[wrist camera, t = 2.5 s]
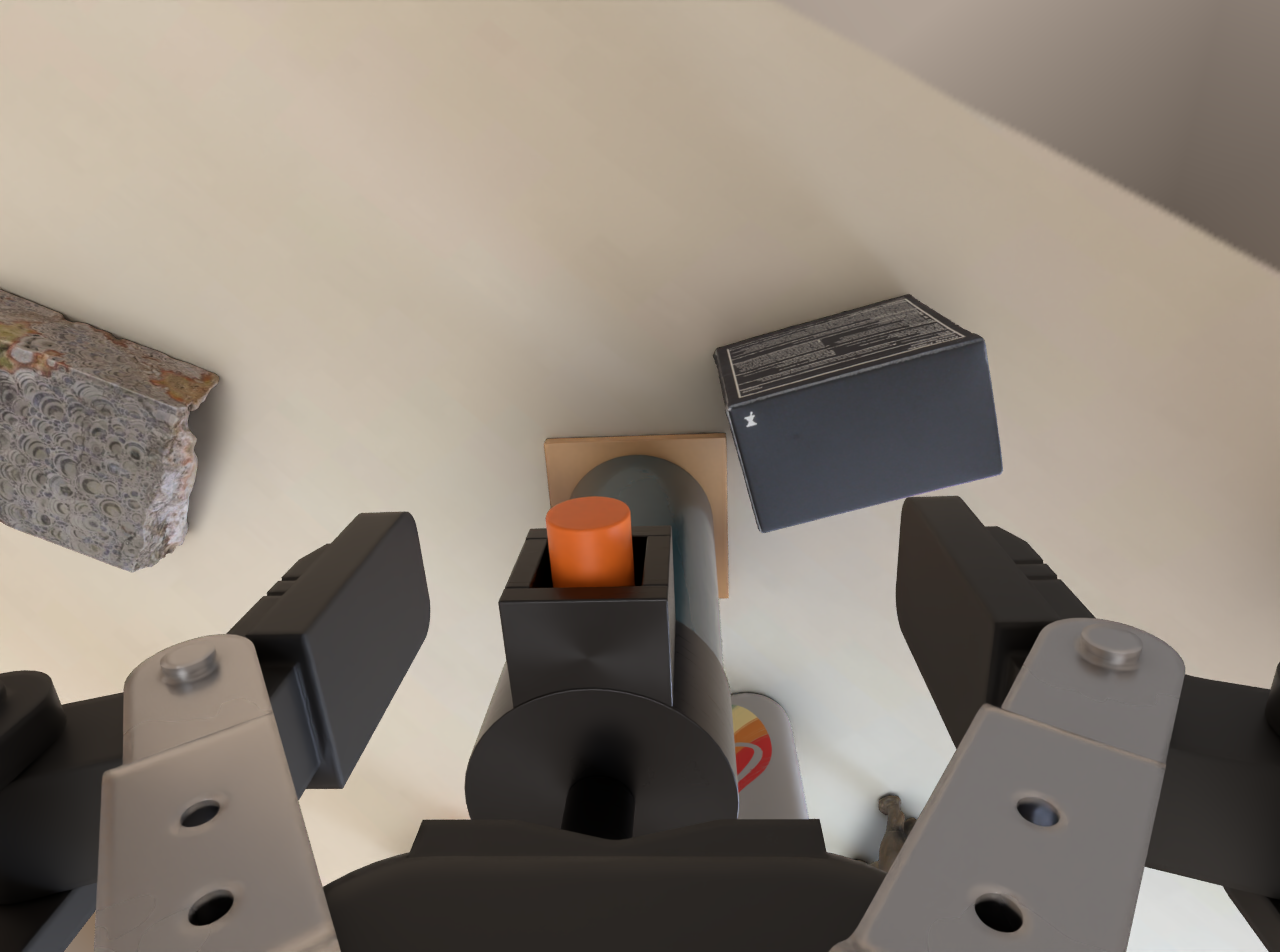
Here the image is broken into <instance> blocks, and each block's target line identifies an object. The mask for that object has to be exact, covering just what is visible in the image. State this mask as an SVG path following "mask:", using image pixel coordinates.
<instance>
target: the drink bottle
mask: <svg viewBox="0 0 1280 952" xmlns="http://www.w3.org/2000/svg"><path fill="white" fill-rule="evenodd" d="M592 496H598V497H609V498H614V499H617V500H620V501H622V502H624V503H625V504H626V505H627V506H628V507H629V509H630V515H631V530H632V546H633V562H634V577H635V586H618V587H564V588H553V583H552V573H551V564H550V555H549V546H548V536H547V528H544V529H530V530H529V533H528V535H527V537H526V541H525V543H524V545H523V547H522V550H521V552H520V554H519V557H518V559H517V561H516V564H515V566H514V568H513V570H512V573H511V575H510V577H509V580H508V582H507V584H506V586H505V589H504V590H503V593H502V595H501V597H500V600H499V602H498V603H499V610H500V618H501V625H502V632H503V639H504V647H505V654H506V662H505V665H504V667H503V670H502V672H501V675H500V678H499V680H498V683H497V686H496V689H495V691H494V694H493V697H492V699H491V702H490V705H489V708H488V710H487V713H486V716H485V718H484V721H483V724H482V726H481V729H480V732H479V735H478V737H477V740H476V743H475V745H474V748H473V751H472V754H471V756H470V759H469V762H468V766H467V770H466V776H465V797H466V804H467V808H468V812H469V816H470V818H471V820H521V821H526V822H530V823H535V824H539V825H544V826H548V827H553V828H558V829H562V830H567V831H571V832H576V833H580V834H585V835H589V836H594V837H598V838H603V839H608V840H623V839H629V838H633V837H638V836H643V835H648V834H652V833H657V832H662V831H667V830H671V829H676V828H681V827H685V826H690V825H695V824H700V823H704V822H709V821H714V820H719V819H738V812H739V792H738V779H737V767H736V755H735V742H734V730H733V717H732V705H731V694H730V688H729V684H728V680H727V677H726V674H725V672H724V667H723V653H722V639H721V624H720V610H719V596H718V582H717V567H716V553H715V539H714V525H713V513H712V509H711V505H710V503H709V500H708V498H707V495H706V494H705V492H704V490H703V488H702V487H701V486H700V484H699V483H698V482H697V481H696V480H695V479H694V478H693V477H692V476H691V475H690V474H689V473H688V472H687V471H685V470H684V469H683V468H681V467H679V466H678V465H676V464H674V463H672V462H670V461H667V460H665V459H662V458H658V457H654V456H648V455H627V456H621V457H617V458H613V459H611V460H608V461H605V462H603V463H601V464H600V465H598V466H596V467H595V468H593V469H592V470H590V471H589V472H588V473H587V474H586V475H585V476H584V477H583V478H582V479H581V480H580V481H579V483H578V484H577V485H576V487H575V489H574V490H573V492H572V494H571V496H570V499H569V500H571V499H575V498H581V497H592Z"/></svg>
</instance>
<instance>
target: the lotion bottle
mask: <svg viewBox="0 0 1280 952" xmlns="http://www.w3.org/2000/svg"><path fill="white" fill-rule="evenodd" d="M731 705H732V717H733V730H734V742H735V755H736V767H737V779H738V792H739V812H738V819H809V816H808V810H807V805H806V800H805V794H804V789H803V783H802V778H801V772H800V767H799V761H798V756H797V751H796V745H795V740H794V735H793V731H792V726H791V723H790V720H789V718H788V716H787V714H786V712H785V711H784V709H783V708H782V707H781V706H780V705H779V704H778V703H777V702H775V701H774V700H772V699H770V698H768V697H766V696H763V695H759V694H754V693H741V694H735V695H731Z"/></svg>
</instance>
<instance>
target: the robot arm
mask: <svg viewBox="0 0 1280 952" xmlns="http://www.w3.org/2000/svg"><path fill="white" fill-rule="evenodd" d="M896 608H897V616H898V621H899V625H900V628H901V631H902V633H903V636H904V638H905V640H906V642H907V644H908V646H909V648H910V651H911V653H912V655H913V657H914V659H915V661H916V663H917V666H918V668H919V670H920V672H921V674H922V676H923V678H924V681H925V683H926V685H927V687H928V689H929V691H930V694H931V696H932V698H933V700H934V702H935V704H936V706H937V709H938V711H939V713H940V715H941V717H942V719H943V721H944V724H945V726H946V728H947V730H948V732H949V734H950V736H951V739H952V741H953V743H954V745H955V747H956V749H957V750H956V752H955V753H954V755H953V757H952V759H951V761H950V762H949V764H948V766H947V768H946V769H945V771H944V773H943V775H942V777H941V778H940V780H939V782H938V784H937V786H936V787H935V789H934V791H933V793H932V795H931V796H930V798H929V800H928V802H927V803H926V805H925V807H924V809H923V811H922V812H921V814H920V816H919V818H918V820H917V821H916V823H915V825H914V827H913V829H912V830H911V832H910V834H909V836H908V837H907V839H906V841H905V843H904V845H903V846H902V848H901V850H900V852H899V854H898V855H897V857H896V859H895V861H894V863H893V864H892V866H891V868H890V870H889V871H888V873H887V872H884V871H882V870H880V869H877V868H875V867H873V866H871V865H868V864H866V863H863V862H860V861H857V860H854V859H851V858H847V857H844V856H841V855H837V854H832V853H828V852H826V848H825V843H824V838H823V833H822V829H821V824H820V819H719V820H714V821H709V822H704V823H700V824H695V825H690V826H685V827H681V828H676V829H671V830H667V831H662V832H657V833H652V834H648V835H643V836H638V837H633V838H629V839H623V840H608V839H603V838H598V837H594V836H589V835H585V834H580V833H576V832H571V831H567V830H562V829H558V828H553V827H548V826H544V825H539V824H535V823H530V822H526V821H521V820H423V821H422V823H421V826H420V828H419V831H418V833H417V836H416V838H415V841H414V843H413V846H412V848H411V851H410V852H409V853H405V854H401V855H397V856H394V857H390V858H387V859H384V860H381V861H378V862H374V863H372V864H370V865H367V866H365V867H362V868H360V869H357V870H355V871H353V872H350V873H348V874H347V875H345V876H343V877H341V878H339V879H337V880H335V881H333V882H331V883H329V884H327V885H326V886H324V887H322V883H321V880H320V876H319V873H318V869H317V866H316V862H315V859H314V855H313V851H312V848H311V844H310V841H309V837H308V834H307V830H306V827H305V823H304V820H303V816H302V812H301V809H300V805H299V802H298V800H299V799H300V797H301V796H302V794H303V792H304V791H305V789H343V787H344V785H345V784H346V782H347V780H348V778H349V776H350V775H351V773H352V771H353V769H354V767H355V765H356V764H357V762H358V760H359V758H360V756H361V755H362V753H363V751H364V749H365V747H366V745H367V744H368V742H369V740H370V738H371V736H372V735H373V733H374V731H375V729H376V727H377V725H378V724H379V722H380V720H381V718H382V716H383V715H384V713H385V711H386V709H387V707H388V705H389V704H390V702H391V700H392V698H393V696H394V695H395V693H396V691H397V689H398V687H399V685H400V684H401V682H402V680H403V678H404V676H405V675H406V673H407V671H408V669H409V667H410V665H411V664H412V662H413V660H414V658H415V656H416V655H417V653H418V651H419V649H420V647H421V645H422V644H423V642H424V640H425V638H426V635H427V632H428V628H429V622H430V600H429V594H428V588H427V582H426V577H425V571H424V566H423V560H422V554H421V549H420V543H419V537H418V532H417V527H416V523H415V520H414V518H413V516H412V515H411V514H410V513H409V512H380V513H361V514H359V515H357V516H356V517H355V519H354V520H353V521H352V522H351V523H350V524H349V525H348V526H347V527H346V528H345V529H344V530H343V531H342V532H341V533H340V534H339V536H338V537H337V538H336V539H335V540H334V541H333V542H332V543H331V544H326V545H324V546H322V547H321V548H319V549H317V550H315V551H314V552H312V553H310V554H308V555H306V556H305V557H303V558H301V559H299V560H298V561H297V562H296V563H295V564H294V565H293V566H292V567H291V568H290V569H289V570H288V572H287V573H286V574H285V575H284V576H283V577H282V581H278V582H277V583H276V584H275V585H274V586H273V587H272V588H271V589H270V590H269V591H268V592H267V596H263V597H262V598H261V599H260V600H259V601H258V602H257V603H256V604H255V605H254V606H253V607H252V608H251V609H250V610H249V611H248V612H247V613H246V614H245V615H244V616H243V617H242V618H241V619H240V620H239V621H238V622H237V623H236V624H235V626H234V627H233V628H232V629H231V630H230V631H229V632H228V633H227V634H218V635H209V636H204V637H199V638H195V639H191V640H187V641H184V642H181V643H178V644H176V645H173V646H171V647H169V648H166V649H164V650H162V651H160V652H158V653H156V654H155V655H153V656H151V657H150V658H148V659H146V660H145V661H144V662H142V663H141V664H140V665H138V666H137V667H136V668H135V669H134V670H133V671H132V672H131V673H130V675H129V676H128V677H127V679H126V681H125V684H124V692H123V693H118V694H113V695H108V696H103V697H98V698H93V699H88V700H83V701H78V702H73V703H69V704H64V705H61V703H60V700H59V698H58V695H57V693H56V690H55V688H54V685H53V683H52V680H51V678H50V677H49V676H48V675H47V674H45V673H42V672H38V671H26V670H24V671H13V672H7V673H2V674H0V952H64V950H65V949H66V948H67V947H68V945H69V944H70V943H71V942H72V940H73V939H74V938H75V936H76V935H77V934H78V932H79V931H80V930H81V929H82V927H83V926H84V925H85V923H86V922H87V921H88V919H89V918H90V917H91V916H92V914H93V913H94V912H95V910H96V922H95V942H94V952H1126V949H1127V945H1128V940H1129V936H1130V931H1131V926H1132V922H1133V917H1134V912H1135V908H1136V903H1137V898H1138V894H1139V889H1140V885H1141V880H1142V875H1143V871H1144V867H1148V868H1152V869H1156V870H1161V871H1165V872H1169V873H1173V874H1177V875H1181V876H1185V877H1189V878H1193V879H1197V880H1201V881H1205V882H1209V883H1213V884H1217V885H1221V886H1223V887H1224V889H1225V891H1226V892H1227V894H1228V896H1229V897H1230V899H1231V900H1232V901H1233V903H1234V904H1235V906H1236V907H1237V908H1238V910H1239V911H1240V913H1241V914H1242V915H1243V917H1244V918H1245V919H1246V921H1247V922H1248V924H1249V925H1250V926H1251V928H1252V929H1253V931H1254V932H1255V933H1256V935H1257V936H1258V937H1259V939H1260V940H1261V942H1262V943H1263V944H1264V946H1265V947H1266V949H1267V950H1268V951H1269V952H1280V663H1279V664H1278V666H1277V669H1276V673H1275V676H1274V680H1273V683H1272V687H1271V690H1270V689H1264V688H1257V687H1251V686H1245V685H1239V684H1233V683H1227V682H1221V681H1215V680H1208V679H1203V678H1198V677H1193V676H1189V675H1185V665H1184V662H1183V660H1182V658H1181V657H1180V655H1179V654H1178V653H1177V652H1176V651H1175V650H1174V649H1173V648H1172V647H1171V646H1169V645H1168V644H1167V643H1165V642H1164V641H1162V640H1161V639H1159V638H1157V637H1155V636H1154V635H1151V634H1149V633H1147V632H1145V631H1143V630H1140V629H1138V628H1135V627H1132V626H1129V625H1126V624H1122V623H1119V622H1114V621H1109V620H1103V619H1096V618H1095V617H1094V616H1093V615H1092V613H1091V612H1090V611H1089V610H1088V609H1087V608H1086V607H1085V606H1084V605H1083V604H1082V602H1081V601H1080V600H1079V599H1078V598H1077V597H1076V596H1075V595H1074V594H1073V593H1072V591H1071V590H1070V589H1069V588H1068V587H1067V586H1066V585H1065V584H1064V583H1063V582H1062V580H1061V579H1057V575H1056V574H1055V573H1054V572H1053V571H1052V569H1051V568H1050V567H1049V566H1048V565H1047V564H1043V560H1042V558H1041V557H1040V556H1039V555H1038V554H1037V553H1036V552H1035V551H1034V550H1033V549H1032V547H1031V546H1030V545H1029V544H1028V543H1027V542H1026V541H1024V540H1022V539H1020V538H1018V537H1016V536H1015V535H1013V534H1011V533H1009V532H1007V531H1005V530H1003V529H1001V528H1000V527H998V526H992V527H985V526H984V525H983V524H982V523H981V522H980V520H979V519H978V518H977V517H976V515H975V514H974V513H973V512H972V511H971V509H970V508H969V507H968V506H967V505H966V503H965V502H964V501H963V500H962V499H961V498H960V497H959V496H939V497H908V498H906V499H905V501H904V504H903V507H902V513H901V525H900V539H899V553H898V567H897V581H896Z"/></svg>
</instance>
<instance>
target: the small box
mask: <svg viewBox="0 0 1280 952" xmlns="http://www.w3.org/2000/svg"><path fill="white" fill-rule="evenodd" d="M713 358H714V359H715V363H716V365H717V368H718V372H719V379H720V383H721V388H722V393H723V398H724V403H725V407H726V409H725V411H726V415H727V418H728V421H729V424H730V428H731V431H732V435H733V439H734V442H735V446H736V450H737V453H738V457H739V461H740V464H741V467H742V471H743V475H744V478H745V482H746V486H747V490H748V494H749V497H750V501H751V504H752V509H753V512H754V515H755V519H756V523H757V525H758V529H759V531H760V532H761V533H766V532H770V531H773V530H778V529H781V528H786V527H790V526H794V525H798V524H802V523H806V522H810V521H814V520H818V519H821V518H825V517H829V516H833V515H837V514H841V513H845V512H849V511H853V510H857V509H861V508H865V507H869V506H873V505H877V504H881V503H885V502H889V501H894V500H898V499H902V498H906V497H910V496H914V495H918V494H922V493H926V492H930V491H935V490H939V489H943V488H947V487H951V486H955V485H959V484H964V483H968V482H972V481H975V480H980V479H984V478H989V477H993V476H996V475H1000V474H1001V473H1002V471H1003V467H1002V456H1001V447H1000V440H999V434H998V426H997V418H996V412H995V404H994V398H993V392H992V384H991V378H990V371H989V365H988V358H987V351H986V345H985V341H984V339H983V338H982V337H981V336H979V335H977V334H974V333H971V332H969V331H967V330H965V329H963V328H961V327H959V325H955V323H953V322H951V321H950V320H949V319H947V318H945V317H944V316H942V315H940V314H939V313H937V312H936V311H934V310H933V309H930V308H929V307H928V306H926V305H924V304H922V303H921V302H920V301H918V300H917V299H915V298H914V297H913V296H912V295H910V294H907V295H904V296H901V297H897V298H894V299H889V300H886V301H882V302H878V303H875V304H871V305H868V306H864V307H861V308H858V309H854V310H850V311H844V312H842V313H840V314H836V315H832V316H829V317H825V318H821V319H818V320H815V321H811V322H807V323H804V324H800V325H797V326H791V327H789V328H785V329H781V330H779V331H775V332H772V333H768V334H764V335H761V336H758V337H754V338H751V339H748V340H744V341H741V342H738V343H734V344H731V345H727V346H724V347H719V348H717V349H716V351H715V353H714V355H713Z"/></svg>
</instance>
